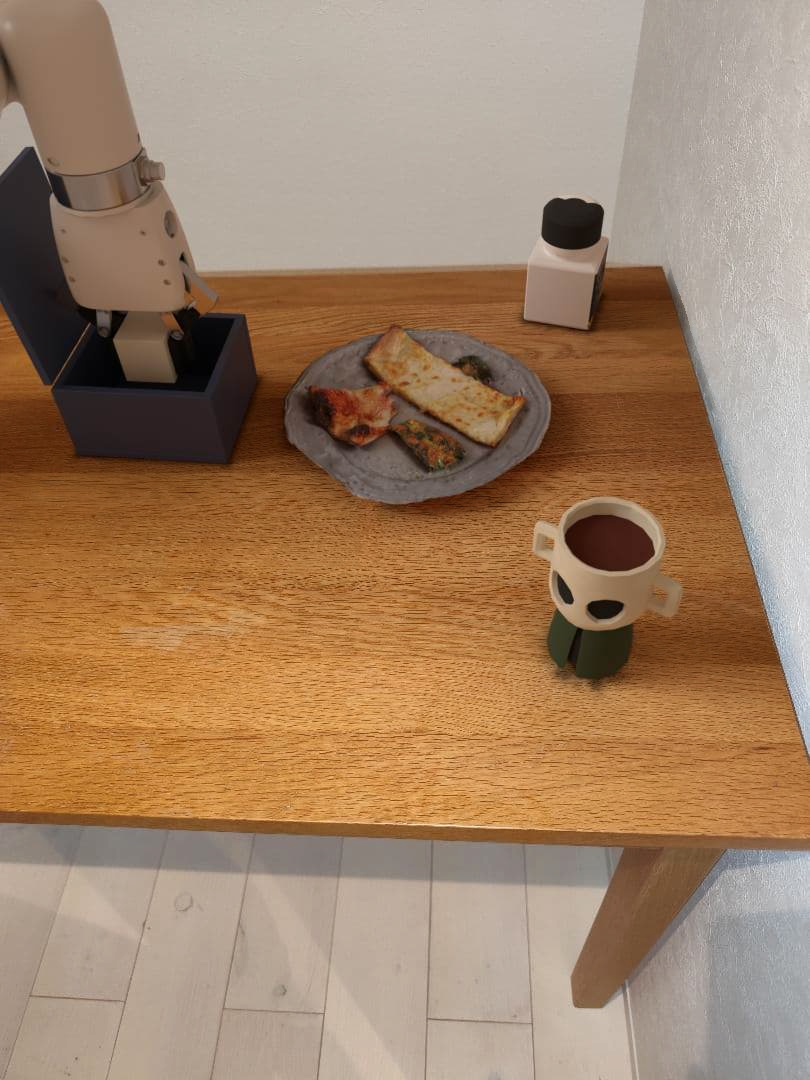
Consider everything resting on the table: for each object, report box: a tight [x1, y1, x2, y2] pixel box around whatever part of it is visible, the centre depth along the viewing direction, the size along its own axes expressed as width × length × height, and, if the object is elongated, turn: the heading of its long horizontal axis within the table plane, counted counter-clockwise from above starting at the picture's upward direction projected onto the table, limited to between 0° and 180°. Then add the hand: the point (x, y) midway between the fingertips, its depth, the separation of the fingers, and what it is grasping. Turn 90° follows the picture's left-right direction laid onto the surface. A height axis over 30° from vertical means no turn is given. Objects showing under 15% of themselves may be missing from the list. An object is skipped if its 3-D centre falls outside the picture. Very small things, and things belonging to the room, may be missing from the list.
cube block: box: [113, 311, 178, 383], centre depth 82 cm, size 5×5×5 cm
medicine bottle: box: [523, 194, 610, 331], centre depth 93 cm, size 7×7×12 cm
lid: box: [0, 145, 90, 386], centre depth 77 cm, size 15×13×1 cm
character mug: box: [531, 496, 684, 681], centre depth 63 cm, size 11×7×13 cm, turn 55°
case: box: [50, 310, 259, 464], centre depth 85 cm, size 15×13×8 cm
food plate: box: [282, 322, 552, 505], centre depth 84 cm, size 25×23×4 cm
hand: (157, 364), depth 83 cm, fingers closed on cube block, 4 cm apart
